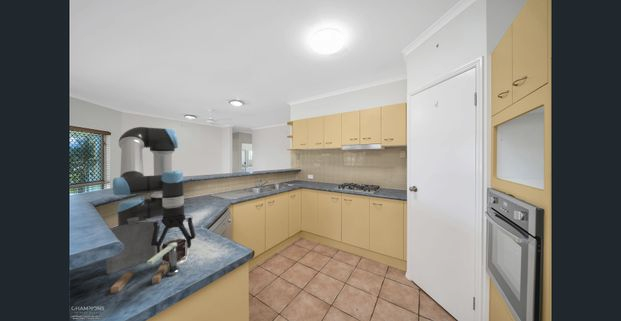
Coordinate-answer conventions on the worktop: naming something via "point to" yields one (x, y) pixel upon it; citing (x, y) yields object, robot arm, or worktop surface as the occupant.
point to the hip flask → (133, 244)
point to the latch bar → (162, 253)
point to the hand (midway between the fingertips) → (175, 257)
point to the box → (179, 249)
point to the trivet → (177, 261)
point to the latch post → (172, 263)
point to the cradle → (129, 274)
